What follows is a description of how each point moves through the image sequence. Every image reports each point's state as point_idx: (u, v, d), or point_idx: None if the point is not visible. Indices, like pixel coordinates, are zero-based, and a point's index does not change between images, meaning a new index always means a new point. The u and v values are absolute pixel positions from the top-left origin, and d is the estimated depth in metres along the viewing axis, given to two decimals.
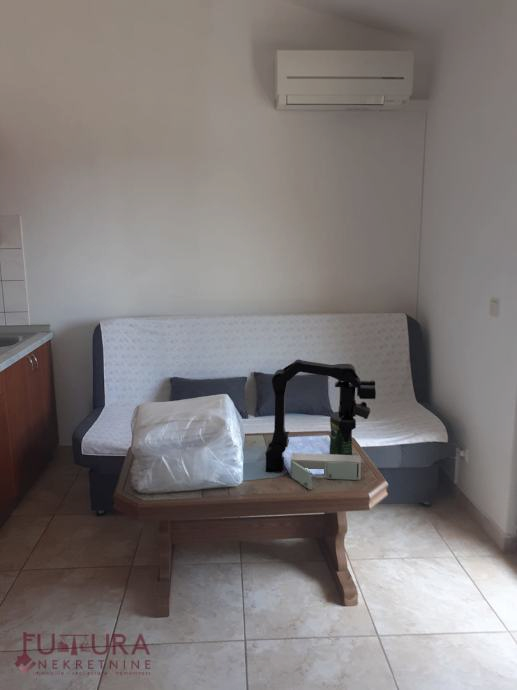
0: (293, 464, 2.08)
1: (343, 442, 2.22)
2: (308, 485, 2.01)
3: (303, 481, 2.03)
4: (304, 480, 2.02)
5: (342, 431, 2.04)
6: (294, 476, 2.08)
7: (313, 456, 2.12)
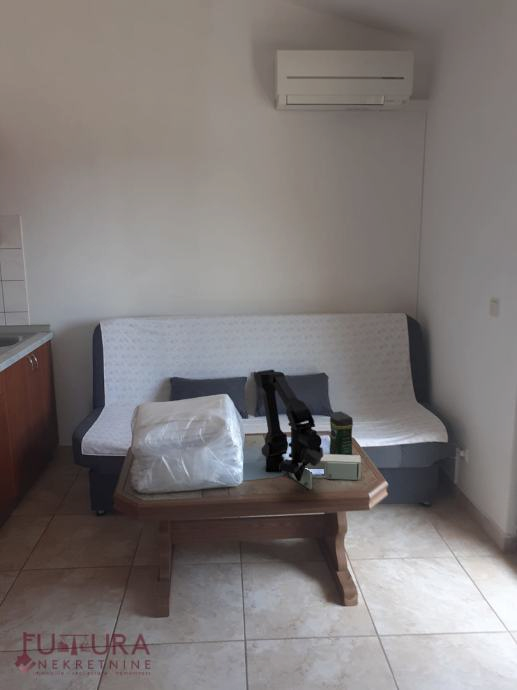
0: None
1: (343, 442, 2.22)
2: (308, 485, 2.01)
3: (303, 481, 2.03)
4: (304, 480, 2.03)
5: None
6: (294, 476, 2.08)
7: None
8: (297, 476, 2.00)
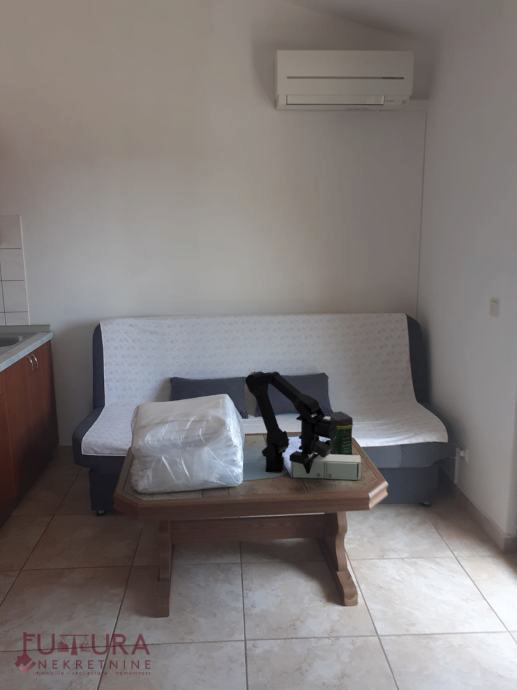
0: (296, 463, 2.09)
1: (343, 442, 2.22)
2: (321, 474, 2.09)
3: (313, 474, 2.09)
4: (315, 472, 2.09)
5: None
6: (298, 474, 2.10)
7: None
8: (307, 468, 2.06)
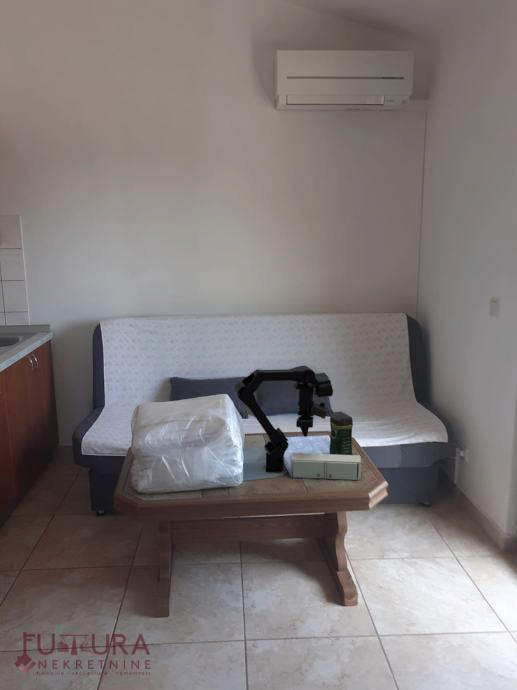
0: (296, 463, 2.09)
1: (343, 442, 2.22)
2: (321, 475, 2.09)
3: (313, 474, 2.09)
4: (315, 472, 2.09)
5: (301, 426, 2.16)
6: (298, 474, 2.10)
7: (313, 456, 2.12)
8: (305, 432, 2.17)
